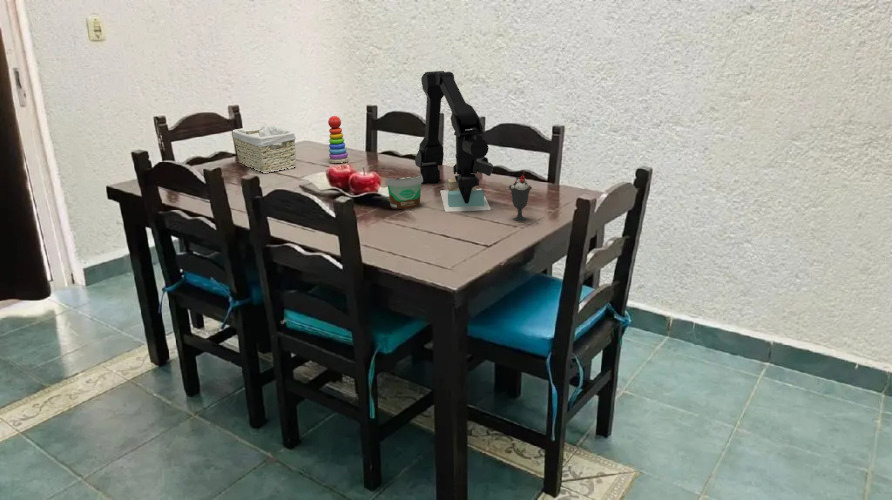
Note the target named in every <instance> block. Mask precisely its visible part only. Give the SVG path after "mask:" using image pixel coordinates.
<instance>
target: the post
mask: <svg viewBox="0 0 892 500" xmlns="http://www.w3.org/2000/svg"><path fill="white" fill-rule="evenodd" d="M447 186H448V188H447V190H448V191H460V190H459V187H458V185H457V181H456V179H455V178H448V179H447Z"/></svg>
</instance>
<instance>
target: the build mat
mask: <svg viewBox="0 0 892 500" xmlns="http://www.w3.org/2000/svg"><path fill="white" fill-rule="evenodd" d="M477 190H483V189H482V188H477ZM440 195H441V198H442V199H441V200H442V204H443V208H444V212H446V213H449V212H466V211H467V212H469V211H470V212H471V211H473V212H474V211H490V210H491V208H492V207H490V204H489V202H488V200H487V198H486V196H485V195H484V206H462V207H449V205H448V189H447V190H446V189H443V190H440Z"/></svg>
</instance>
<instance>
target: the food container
mask: <svg viewBox="0 0 892 500" xmlns="http://www.w3.org/2000/svg"><path fill="white" fill-rule="evenodd" d="M422 182H423V178H422V175H421V173H420V172H419V174H418V175H414V176H402V177H398V178H395V179H394V178H390V177H389V178H388V177H386V179H385V183H384V185H386V186H387V190H388V196H389V204H390V209H392V210H395V209H397V210H411V209H412V210H413V209H416V208H418V207H420V206H421V191H422V190H421V189H422V188H421V187H422V184H421V183H422Z"/></svg>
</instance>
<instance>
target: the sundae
mask: <svg viewBox="0 0 892 500" xmlns="http://www.w3.org/2000/svg"><path fill="white" fill-rule="evenodd" d="M525 173H526V172H525V171H523V172H522V174H521V176H520V177H515V181H514V183H513V184H510V185H508V190H509V191H510V192H511V199H512V200H511V201H512V205H513V207H515V209H516V210H517V215H516V217H513V219H512V220H513V221H514V222H522V224H526V222H525V221H527V218H526V217H523V209H524V208H525V207H526V206H527V204H528V200H529V196H530V195H529V194H530V191H531V190H532V189H533V186H531V185H529V184H528V181H527V179H526V178H525V177H526V176H525Z"/></svg>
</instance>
